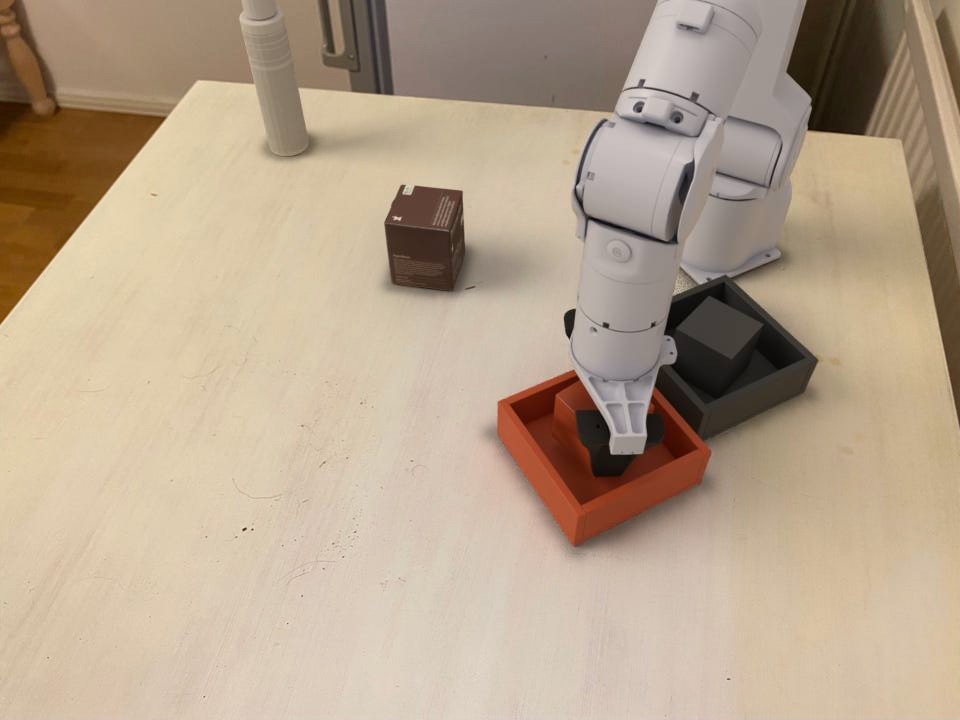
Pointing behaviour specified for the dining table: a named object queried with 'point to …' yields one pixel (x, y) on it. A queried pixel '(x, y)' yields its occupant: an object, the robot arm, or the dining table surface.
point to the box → (425, 236)
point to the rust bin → (571, 488)
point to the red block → (574, 421)
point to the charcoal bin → (761, 385)
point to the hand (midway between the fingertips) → (600, 430)
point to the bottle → (274, 76)
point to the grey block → (714, 346)
